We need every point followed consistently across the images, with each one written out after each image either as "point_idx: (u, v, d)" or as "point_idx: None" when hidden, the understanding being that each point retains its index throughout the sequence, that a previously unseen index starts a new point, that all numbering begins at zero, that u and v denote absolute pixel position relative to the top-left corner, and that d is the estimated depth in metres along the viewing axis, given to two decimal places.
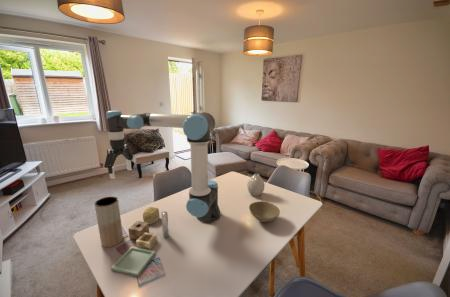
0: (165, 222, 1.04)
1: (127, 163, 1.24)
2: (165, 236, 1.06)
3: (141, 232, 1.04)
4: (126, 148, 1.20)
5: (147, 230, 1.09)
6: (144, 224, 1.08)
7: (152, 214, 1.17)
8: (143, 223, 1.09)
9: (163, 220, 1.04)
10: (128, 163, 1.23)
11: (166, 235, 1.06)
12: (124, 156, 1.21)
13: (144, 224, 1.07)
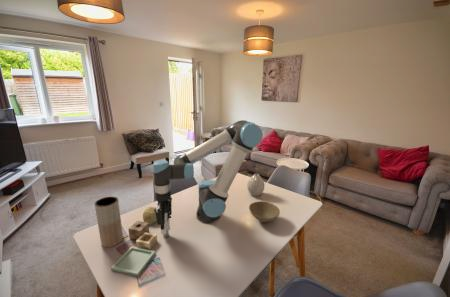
0: (165, 222, 1.04)
1: None
2: (165, 236, 1.06)
3: (141, 232, 1.04)
4: (169, 201, 1.08)
5: (147, 230, 1.09)
6: (144, 224, 1.08)
7: (152, 214, 1.17)
8: (143, 223, 1.09)
9: None
10: None
11: (166, 235, 1.06)
12: None
13: (144, 224, 1.07)
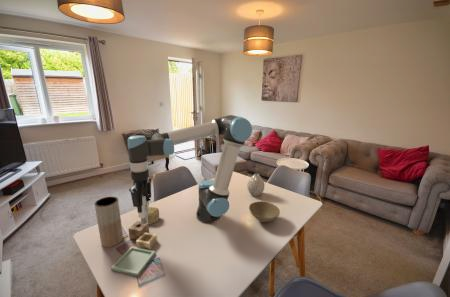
0: None
1: None
2: (143, 222, 0.97)
3: (141, 232, 1.04)
4: (148, 182, 0.98)
5: (147, 230, 1.09)
6: (144, 224, 1.08)
7: (152, 214, 1.17)
8: None
9: None
10: None
11: (144, 221, 0.97)
12: (142, 194, 0.97)
13: (144, 224, 1.07)
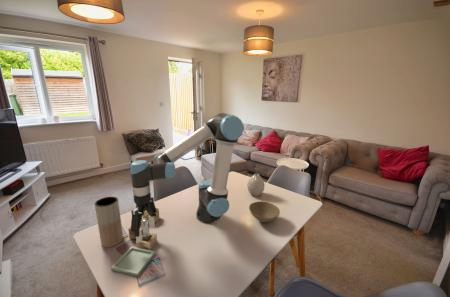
0: (146, 230, 0.98)
1: (150, 220, 1.04)
2: None
3: (141, 232, 1.04)
4: (151, 201, 1.02)
5: None
6: None
7: None
8: None
9: (144, 227, 0.98)
10: (151, 220, 1.04)
11: None
12: None
13: None
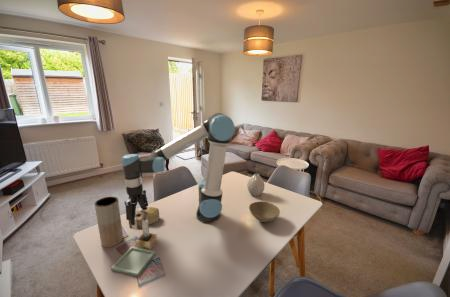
0: (146, 230, 0.98)
1: None
2: None
3: (141, 221, 1.02)
4: (143, 194, 1.08)
5: None
6: (144, 213, 1.06)
7: (152, 214, 1.17)
8: (143, 213, 1.07)
9: (143, 228, 0.98)
10: None
11: None
12: (139, 204, 1.07)
13: (144, 214, 1.06)
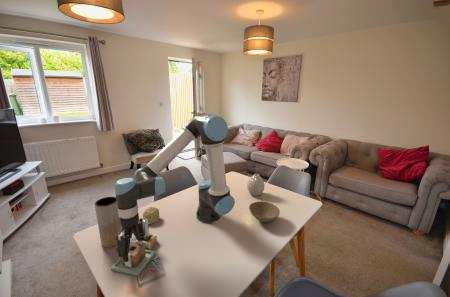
0: (145, 230, 0.98)
1: None
2: None
3: (136, 257, 0.87)
4: (139, 223, 0.92)
5: (143, 253, 0.92)
6: (139, 246, 0.90)
7: (152, 214, 1.17)
8: (138, 245, 0.91)
9: None
10: None
11: None
12: (134, 235, 0.92)
13: (140, 247, 0.90)
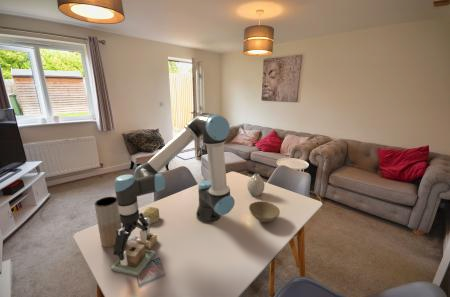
0: None
1: (141, 234, 0.96)
2: None
3: (136, 258, 0.87)
4: (140, 217, 0.92)
5: (143, 254, 0.92)
6: (140, 247, 0.91)
7: (152, 214, 1.17)
8: (138, 246, 0.91)
9: None
10: (142, 234, 0.95)
11: None
12: None
13: (140, 248, 0.90)
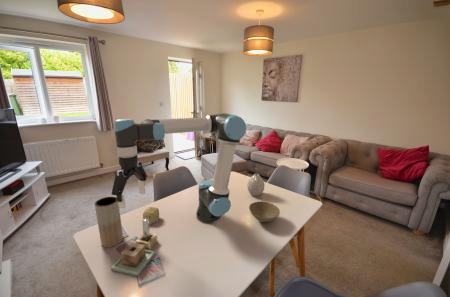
0: (146, 230, 0.98)
1: (140, 185, 0.97)
2: None
3: (136, 258, 0.87)
4: (139, 166, 0.94)
5: (143, 254, 0.92)
6: (140, 247, 0.91)
7: (152, 214, 1.17)
8: (138, 246, 0.91)
9: (144, 227, 0.98)
10: (141, 185, 0.97)
11: None
12: (136, 176, 0.95)
13: (140, 248, 0.90)
